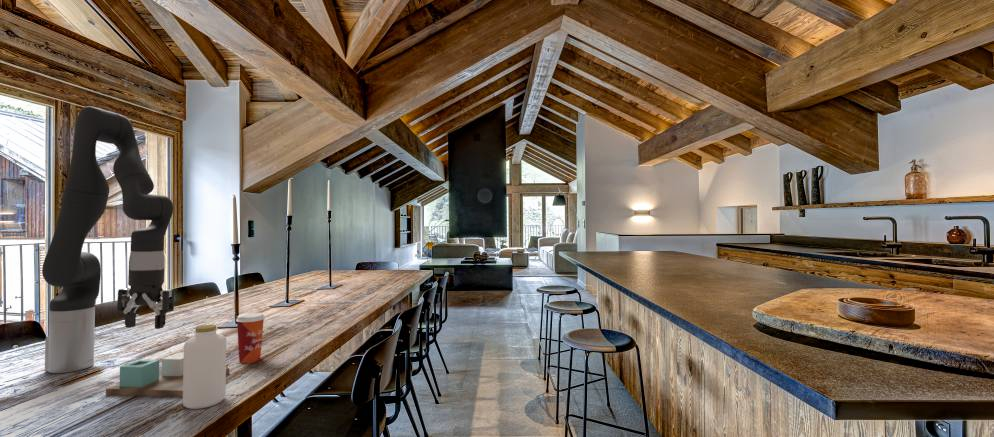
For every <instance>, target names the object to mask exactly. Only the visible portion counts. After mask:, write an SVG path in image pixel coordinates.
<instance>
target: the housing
mask: <svg viewBox="0 0 994 437" xmlns="http://www.w3.org/2000/svg"><path fill="white" fill-rule="evenodd" d="M183 362H184V352H176V353H174V354H172V355H169V356H166V357H163V358H162V359H161V366H162V376H182V375H183Z"/></svg>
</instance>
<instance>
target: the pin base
mask: <svg viewBox="0 0 994 437" xmlns="http://www.w3.org/2000/svg"><path fill="white" fill-rule="evenodd" d="M140 365H143V364H140ZM229 374H230V367H226V376H227V375H229ZM105 396H134V397H135V396H138V397H141V396H142V397H143V396H144V397H172V398H173V397H178V398H183V375H182V376H162V365H161V366H160V365H159V379H158V380H156V381H154V382H152V383H149V384H147V385H145V386H143V387H120V382H118V383H116V384H114V385H111V386H109V387H106V388H105Z"/></svg>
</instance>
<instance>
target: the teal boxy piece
mask: <svg viewBox="0 0 994 437" xmlns="http://www.w3.org/2000/svg"><path fill="white" fill-rule="evenodd" d="M140 364H143V365H140ZM159 367H160V360H159V359H137V360H134V361H131V362H129V363H126V364H124V365H121V366H119V383H120V387H143V386H145V385H147V384H149V383H152V382H154V381H156V380H158V379H159Z"/></svg>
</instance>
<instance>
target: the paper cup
mask: <svg viewBox="0 0 994 437" xmlns="http://www.w3.org/2000/svg"><path fill="white" fill-rule="evenodd" d="M265 318H266V317H265V316H264V313H263V312H247V313H246V312H245V313H242V314H239V315H237V317H236V320H235V322H236V323H237V325H236V326H237V346H238V362H239V363H240V364H252V363H256V362H258V361H260V360H261V355H262V345H263V344H262V343H263V334H264V332H263V330H264V320H265Z"/></svg>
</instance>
